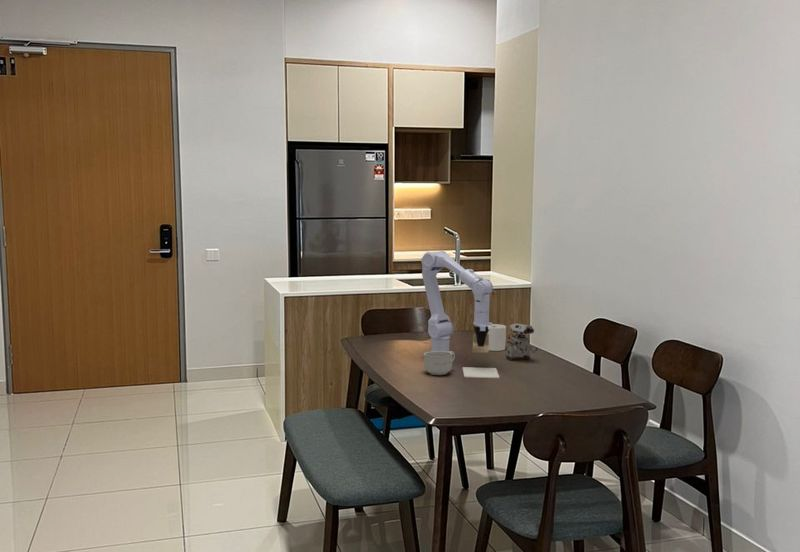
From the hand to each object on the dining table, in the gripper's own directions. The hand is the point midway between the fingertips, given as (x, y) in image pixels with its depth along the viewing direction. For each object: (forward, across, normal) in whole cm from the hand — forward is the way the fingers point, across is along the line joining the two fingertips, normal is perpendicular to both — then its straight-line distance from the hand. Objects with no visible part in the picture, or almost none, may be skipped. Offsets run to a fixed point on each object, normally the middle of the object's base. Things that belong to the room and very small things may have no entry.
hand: (480, 345), depth 298 cm
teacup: (+9, -9, +15) cm, 20 cm away
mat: (+9, -7, 0) cm, 12 cm away
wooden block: (+2, 0, 0) cm, 2 cm away
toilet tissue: (+9, +37, -8) cm, 39 cm away
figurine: (+9, +16, -18) cm, 25 cm away
